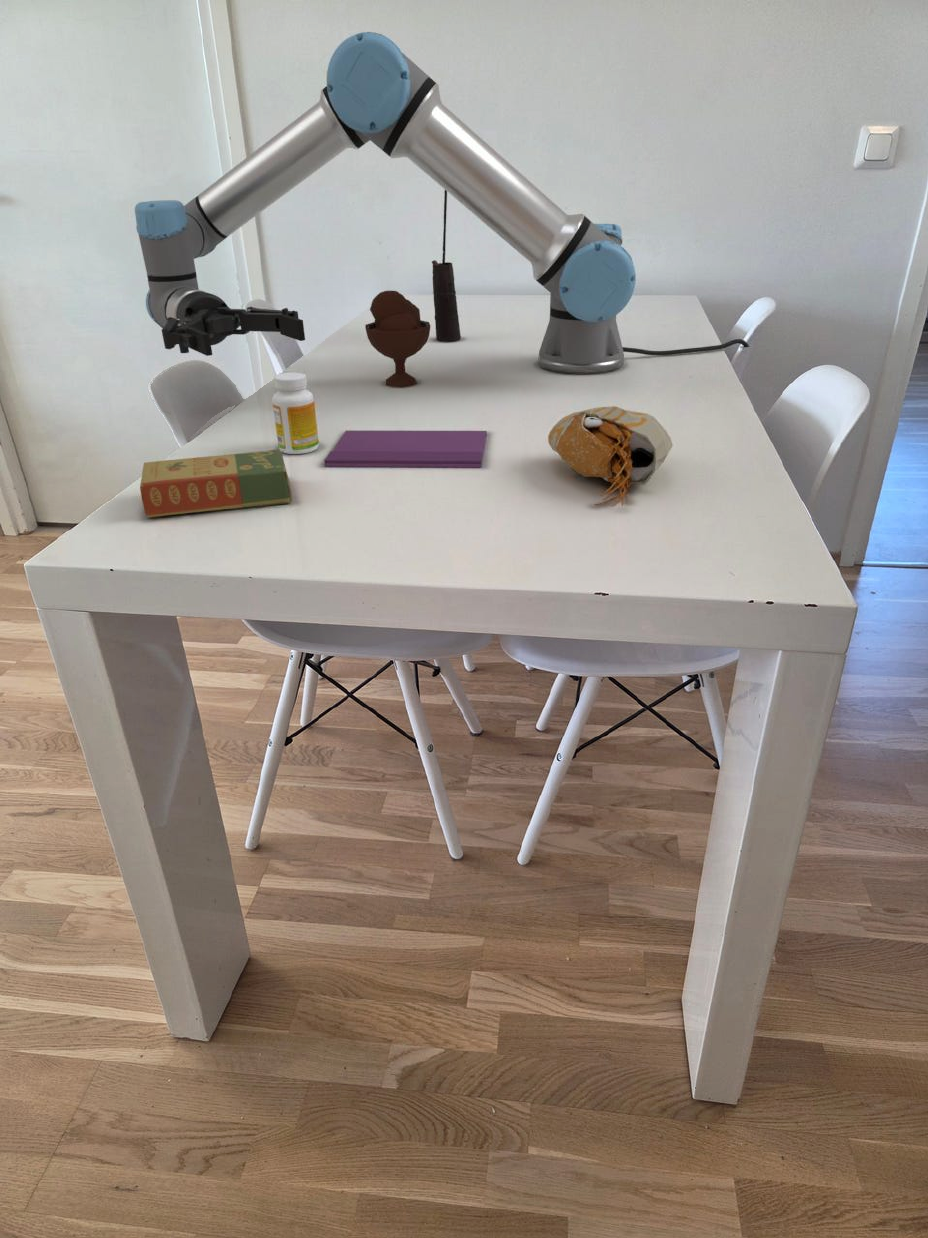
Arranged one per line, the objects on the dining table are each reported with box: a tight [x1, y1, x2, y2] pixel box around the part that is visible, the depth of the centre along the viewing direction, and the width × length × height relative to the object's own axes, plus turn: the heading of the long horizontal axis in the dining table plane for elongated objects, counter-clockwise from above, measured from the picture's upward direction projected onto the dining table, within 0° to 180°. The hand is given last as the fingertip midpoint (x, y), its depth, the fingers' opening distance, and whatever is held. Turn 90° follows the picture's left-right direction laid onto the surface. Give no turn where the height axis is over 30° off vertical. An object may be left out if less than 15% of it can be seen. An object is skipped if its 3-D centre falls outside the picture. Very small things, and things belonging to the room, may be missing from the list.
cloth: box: [324, 430, 488, 468], centre depth 112 cm, size 20×14×1 cm
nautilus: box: [547, 405, 674, 507], centre depth 98 cm, size 8×22×15 cm
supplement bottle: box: [271, 372, 320, 455], centre depth 111 cm, size 5×5×10 cm
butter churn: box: [431, 189, 462, 343], centre depth 167 cm, size 9×10×28 cm
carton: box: [139, 449, 293, 518], centre depth 97 cm, size 8×16×4 cm, turn 106°
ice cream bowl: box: [365, 290, 432, 388], centre depth 139 cm, size 11×11×15 cm
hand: (256, 337), depth 114 cm, fingers open, 13 cm apart
